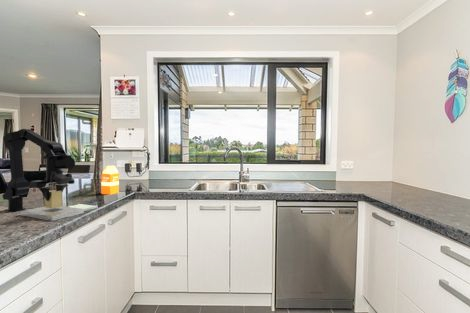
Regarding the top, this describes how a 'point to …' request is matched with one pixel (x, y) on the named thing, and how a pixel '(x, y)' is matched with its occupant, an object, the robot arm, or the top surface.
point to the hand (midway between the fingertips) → (53, 199)
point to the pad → (83, 206)
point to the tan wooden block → (54, 199)
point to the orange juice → (110, 180)
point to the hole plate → (52, 212)
